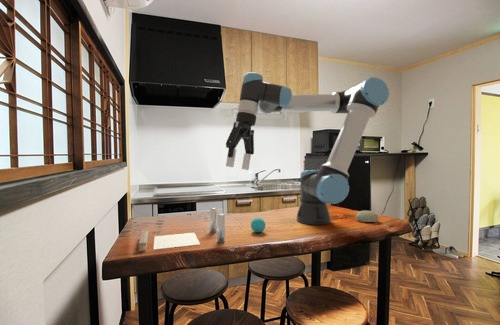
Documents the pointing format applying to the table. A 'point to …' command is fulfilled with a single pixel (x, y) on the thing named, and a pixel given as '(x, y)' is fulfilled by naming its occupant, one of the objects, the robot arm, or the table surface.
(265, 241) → the table surface
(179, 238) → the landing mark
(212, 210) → the post
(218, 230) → the post
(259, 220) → the ball
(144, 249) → the wall
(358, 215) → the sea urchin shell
